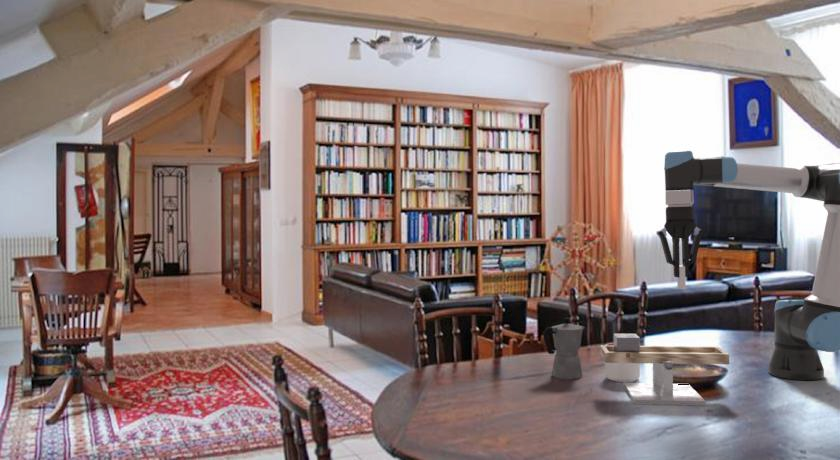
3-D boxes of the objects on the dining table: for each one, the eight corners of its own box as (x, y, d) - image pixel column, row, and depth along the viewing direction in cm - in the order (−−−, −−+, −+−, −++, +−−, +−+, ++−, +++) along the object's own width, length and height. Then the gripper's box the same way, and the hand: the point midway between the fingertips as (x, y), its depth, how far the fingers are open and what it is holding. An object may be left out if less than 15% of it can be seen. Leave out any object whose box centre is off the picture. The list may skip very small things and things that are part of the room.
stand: (688, 388, 204) (688, 349, 203) (705, 405, 186) (705, 363, 186) (623, 386, 206) (623, 348, 206) (634, 404, 188) (634, 362, 188)
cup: (641, 384, 209) (641, 350, 209) (606, 382, 211) (606, 349, 211) (637, 375, 219) (637, 343, 218) (604, 374, 221) (604, 342, 220)
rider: (635, 351, 199) (635, 333, 199) (639, 356, 193) (639, 337, 193) (613, 351, 200) (613, 333, 200) (616, 355, 194) (616, 337, 194)
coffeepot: (574, 370, 227) (574, 313, 226) (594, 376, 218) (594, 318, 217) (534, 375, 220) (534, 317, 219) (552, 382, 211) (552, 322, 211)
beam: (718, 359, 199) (718, 346, 199) (729, 367, 188) (729, 354, 188) (600, 357, 203) (600, 345, 203) (605, 365, 192) (605, 353, 192)
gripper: (699, 204, 206) (701, 286, 207) (652, 206, 207) (654, 287, 208) (707, 205, 198) (709, 289, 199) (659, 206, 199) (661, 290, 200)
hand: (681, 288), depth 203 cm, fingers closed
